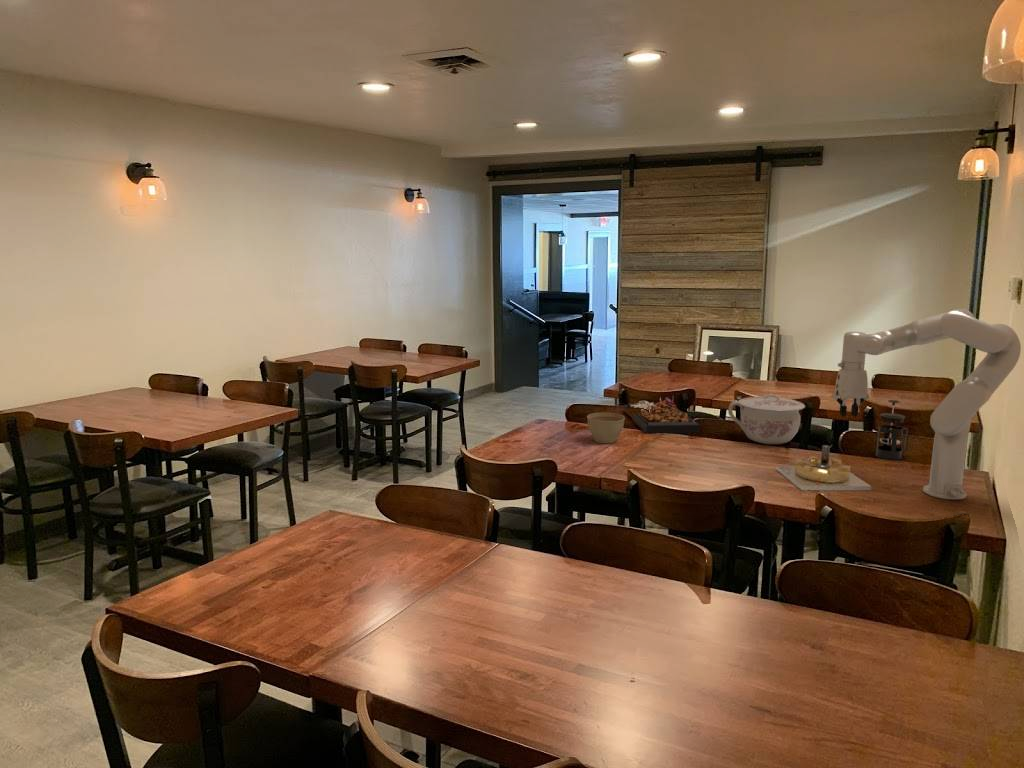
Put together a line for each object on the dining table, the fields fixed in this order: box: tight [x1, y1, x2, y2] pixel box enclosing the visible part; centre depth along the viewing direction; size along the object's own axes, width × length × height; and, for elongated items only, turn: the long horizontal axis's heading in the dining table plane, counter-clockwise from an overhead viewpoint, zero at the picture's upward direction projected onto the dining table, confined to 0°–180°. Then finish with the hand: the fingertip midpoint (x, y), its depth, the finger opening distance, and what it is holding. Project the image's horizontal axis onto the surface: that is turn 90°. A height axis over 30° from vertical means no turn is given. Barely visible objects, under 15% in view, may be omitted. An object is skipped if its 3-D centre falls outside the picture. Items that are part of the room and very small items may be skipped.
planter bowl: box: [586, 412, 626, 444], centre depth 311 cm, size 16×16×11 cm
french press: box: [875, 399, 910, 461], centre depth 286 cm, size 12×9×23 cm
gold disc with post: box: [794, 444, 851, 483], centre depth 259 cm, size 18×18×9 cm
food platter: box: [623, 395, 701, 435], centre depth 346 cm, size 45×25×10 cm, turn 4°
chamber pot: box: [727, 393, 806, 446], centre depth 311 cm, size 28×28×21 cm
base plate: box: [775, 465, 872, 492], centre depth 260 cm, size 24×24×2 cm
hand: (848, 415), depth 262 cm, fingers open, 3 cm apart
